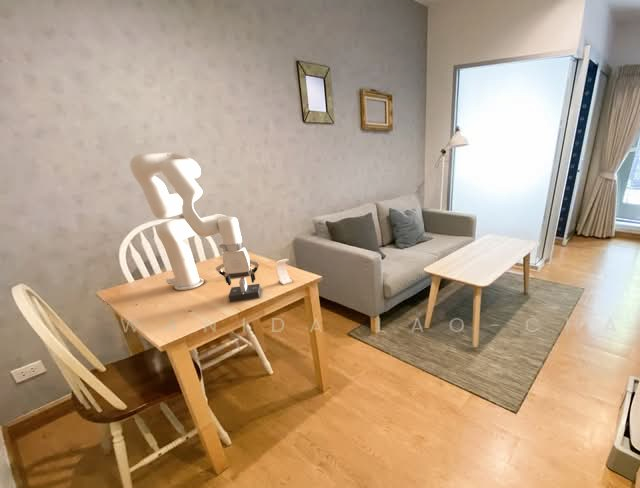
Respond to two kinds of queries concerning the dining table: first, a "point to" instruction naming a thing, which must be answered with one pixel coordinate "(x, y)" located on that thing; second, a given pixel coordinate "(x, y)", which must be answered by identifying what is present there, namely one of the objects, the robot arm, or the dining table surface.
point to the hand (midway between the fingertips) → (241, 282)
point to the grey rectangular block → (243, 284)
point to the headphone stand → (282, 272)
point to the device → (244, 293)
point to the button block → (239, 274)
